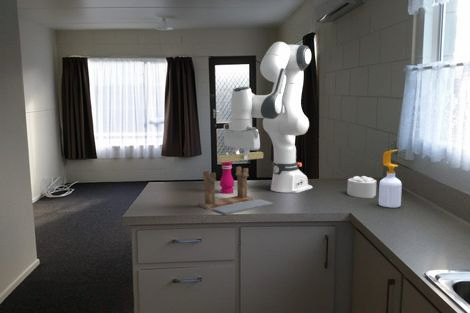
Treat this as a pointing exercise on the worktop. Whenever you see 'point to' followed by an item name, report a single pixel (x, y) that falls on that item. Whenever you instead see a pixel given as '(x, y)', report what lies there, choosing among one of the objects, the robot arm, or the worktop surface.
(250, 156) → the brass rail
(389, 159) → the soap bottle
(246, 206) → the slate mat
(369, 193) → the lumpy-topped squat cylinder
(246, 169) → the stand
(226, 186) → the pepper mill
